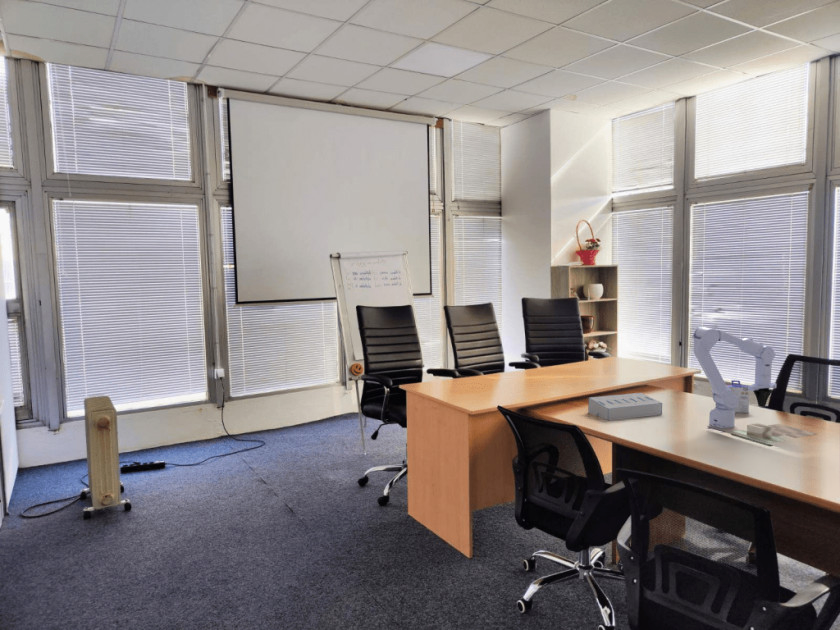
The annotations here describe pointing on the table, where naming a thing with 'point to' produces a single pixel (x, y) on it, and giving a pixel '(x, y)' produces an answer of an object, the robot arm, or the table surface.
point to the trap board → (776, 434)
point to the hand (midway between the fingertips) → (761, 406)
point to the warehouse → (624, 406)
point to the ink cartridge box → (741, 396)
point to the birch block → (759, 430)
